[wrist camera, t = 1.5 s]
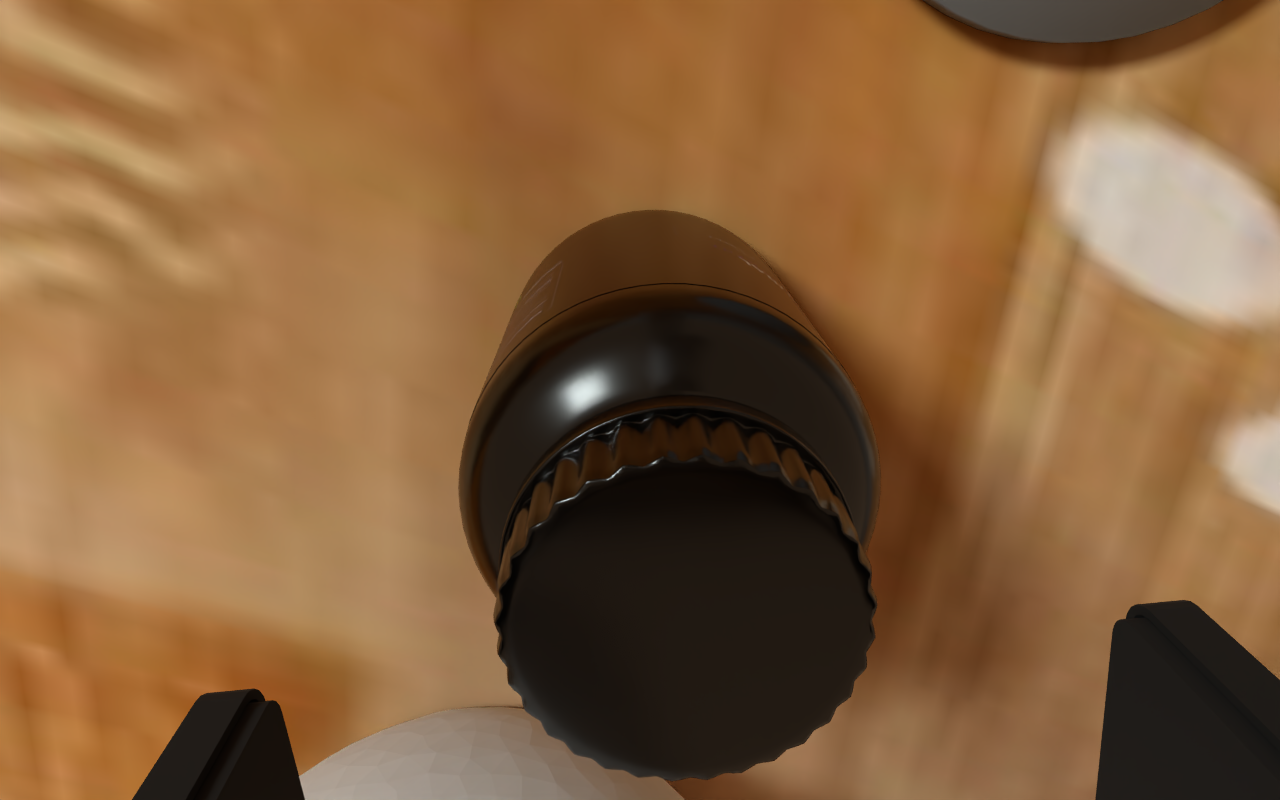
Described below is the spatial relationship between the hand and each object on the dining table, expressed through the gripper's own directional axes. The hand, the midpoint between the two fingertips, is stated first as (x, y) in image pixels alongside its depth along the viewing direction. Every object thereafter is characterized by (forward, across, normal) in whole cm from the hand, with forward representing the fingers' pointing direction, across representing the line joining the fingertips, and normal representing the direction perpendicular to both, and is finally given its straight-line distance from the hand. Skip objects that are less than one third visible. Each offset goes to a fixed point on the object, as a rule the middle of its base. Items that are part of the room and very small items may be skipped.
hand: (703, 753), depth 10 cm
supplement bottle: (+14, 0, -1) cm, 14 cm away
